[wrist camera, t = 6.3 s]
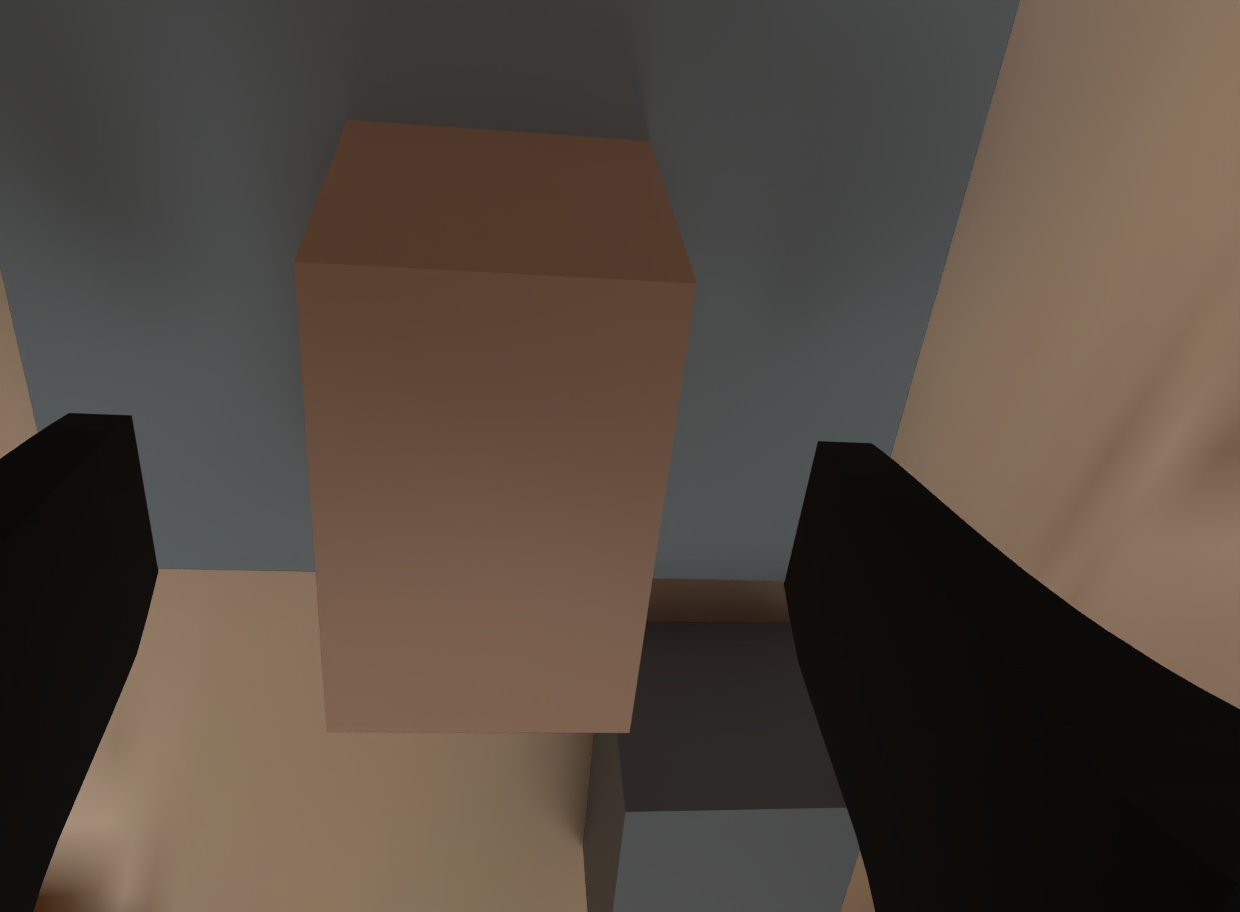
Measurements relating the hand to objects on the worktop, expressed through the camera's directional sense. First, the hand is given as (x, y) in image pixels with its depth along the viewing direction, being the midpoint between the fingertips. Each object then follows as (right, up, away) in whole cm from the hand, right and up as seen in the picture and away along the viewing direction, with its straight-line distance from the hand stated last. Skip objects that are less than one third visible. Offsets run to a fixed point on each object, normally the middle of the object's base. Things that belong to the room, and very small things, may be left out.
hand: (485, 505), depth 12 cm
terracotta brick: (0, +2, +3) cm, 4 cm away
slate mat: (0, +3, +3) cm, 4 cm away
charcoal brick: (+3, -5, +9) cm, 10 cm away
